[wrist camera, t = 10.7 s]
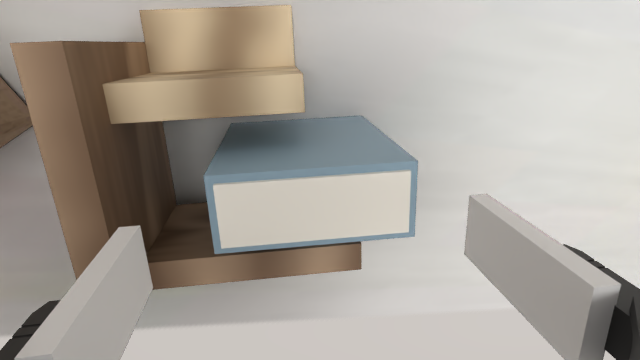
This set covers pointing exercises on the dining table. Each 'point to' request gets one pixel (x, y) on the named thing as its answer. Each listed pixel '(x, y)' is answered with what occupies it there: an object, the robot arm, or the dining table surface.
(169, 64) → the bookend
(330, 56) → the dining table surface
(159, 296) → the dining table surface
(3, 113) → the wooden block
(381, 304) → the dining table surface
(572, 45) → the dining table surface
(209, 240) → the shelf corner
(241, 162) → the book box
